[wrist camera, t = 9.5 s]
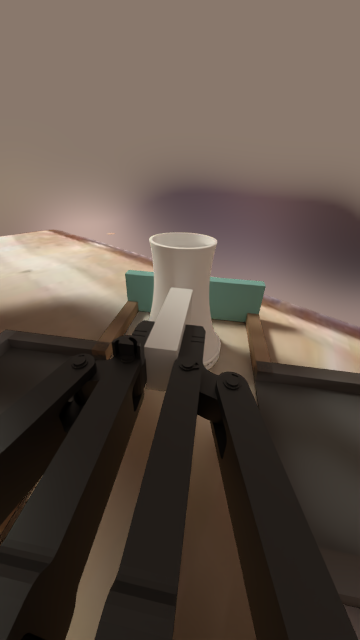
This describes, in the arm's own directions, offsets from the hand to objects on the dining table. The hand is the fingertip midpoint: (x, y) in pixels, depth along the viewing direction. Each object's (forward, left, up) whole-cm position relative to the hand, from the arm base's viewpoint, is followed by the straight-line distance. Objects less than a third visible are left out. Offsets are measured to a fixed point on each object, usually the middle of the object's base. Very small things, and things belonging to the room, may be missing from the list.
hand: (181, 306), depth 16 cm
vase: (-3, +1, -6) cm, 7 cm away
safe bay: (-8, +5, -6) cm, 11 cm away
